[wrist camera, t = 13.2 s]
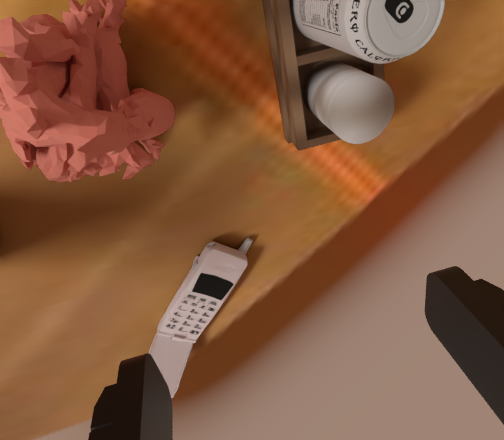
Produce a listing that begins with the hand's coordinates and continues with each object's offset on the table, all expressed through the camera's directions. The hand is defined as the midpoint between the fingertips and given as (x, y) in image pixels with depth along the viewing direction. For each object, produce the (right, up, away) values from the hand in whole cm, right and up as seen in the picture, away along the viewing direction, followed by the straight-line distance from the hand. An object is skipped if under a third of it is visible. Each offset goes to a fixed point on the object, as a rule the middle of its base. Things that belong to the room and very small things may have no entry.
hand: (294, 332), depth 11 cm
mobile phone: (-9, -8, +41) cm, 43 cm away
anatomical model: (-16, +15, +26) cm, 34 cm away
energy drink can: (+5, +23, +24) cm, 33 cm away
